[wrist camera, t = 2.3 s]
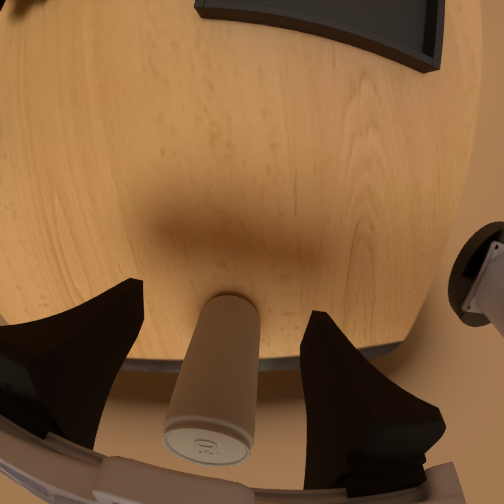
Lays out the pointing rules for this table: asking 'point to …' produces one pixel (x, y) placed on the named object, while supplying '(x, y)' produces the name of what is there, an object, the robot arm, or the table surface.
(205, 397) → the beverage can
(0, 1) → the toy car
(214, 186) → the table surface
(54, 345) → the robot arm
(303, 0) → the tray
